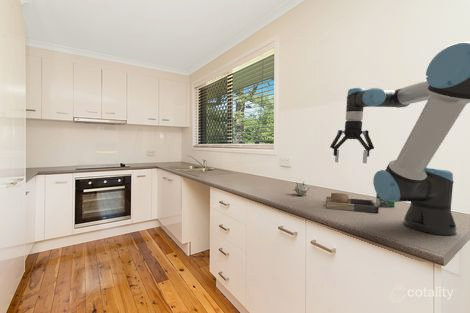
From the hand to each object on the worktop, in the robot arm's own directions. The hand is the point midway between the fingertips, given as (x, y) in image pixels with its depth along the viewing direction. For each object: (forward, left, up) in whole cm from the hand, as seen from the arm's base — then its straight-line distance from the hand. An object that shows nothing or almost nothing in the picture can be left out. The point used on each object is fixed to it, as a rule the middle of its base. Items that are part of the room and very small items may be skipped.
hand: (350, 162), depth 113 cm
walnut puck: (-2, +5, -22) cm, 23 cm away
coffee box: (+6, -17, -23) cm, 29 cm away
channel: (-2, 0, -22) cm, 23 cm away
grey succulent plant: (+14, +25, -23) cm, 36 cm away
